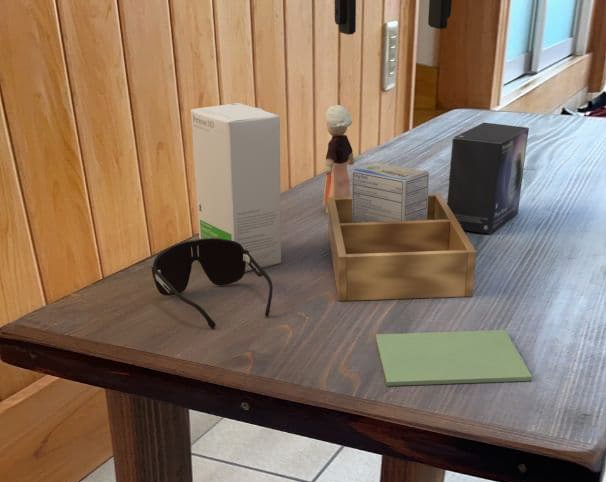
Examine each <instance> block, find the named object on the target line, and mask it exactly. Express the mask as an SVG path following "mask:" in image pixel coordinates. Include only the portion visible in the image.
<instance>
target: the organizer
mask: <svg viewBox="0 0 606 482" xmlns="http://www.w3.org/2000/svg"><path fill="white" fill-rule="evenodd" d="M327 208H328V214H327V237H328V244H329V249H330V250H329V251H330V255H331V260H332V266H333V273H334V279H335V285H336V292H337V297H338V302H346V301H349V302H350V301H380V300H406V299H407V300H410V299H435V298H436V299H437V298H438V299H439V298H462V297H463V298H464V297H466V298H469V297H470V298H471V297H473V296H474V286H475V285H474V284H475V273H476V263H477V253H478V252H477V251H476V248H475V247H474V246H473V244H472V242H471V241H470V239H469V237H468V236H467V234H466V231H465V230H463V229H462V227H461V226H460V224H459V223H458V221H457V219H456V218H455V216H454V214H453V213H452V211H451V209H450V208H449V206H448V204H447V200H445V198H444V196H443V194H442V193H428V209H427V220H417V221H389V222H360V223H352V196H350V197H335V198H334V197H333V198H328V205H327Z"/></svg>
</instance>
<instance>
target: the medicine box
mask: <svg viewBox="0 0 606 482" xmlns="http://www.w3.org/2000/svg"><path fill="white" fill-rule="evenodd" d="M429 181H430V172H428V171H426V170H423V169H417V168H411V167H407V166H401V165H395V164H394V165H393V164H388V163H381V162H373V163H369V164H366V165H361V166H359V167H357V168H355V169H352V171H351V197H352V223H360V222H389V221H417V220H427V209H428V194H429V187H430V185H429V183H430V182H429Z"/></svg>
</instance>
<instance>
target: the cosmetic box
mask: <svg viewBox="0 0 606 482" xmlns="http://www.w3.org/2000/svg"><path fill="white" fill-rule="evenodd" d="M190 119H191V121H190V122H191V133H192V149H193V162H194V163H193V164H194V177H195V179H194V180H195V192H196V208H197V223H198V237H199V238H198V239H204V238H221V239H226V240H232V241H235V242H238V243H239V244H241V246H242V247H243V249H244V250H248V251H249V254H250V255H251V256H252V258H253V259H254V260H255V261H256V262H257V264H258V265H259V266H260V267H261V268H262V269H263V268H267V267H270V266H275V265H279V264H282V225H281V224H282V218H281V216H282V209H281V208H282V207H281V198H282V197H281V116H280V115H278V114H275V113H272V112H268V111H266V110H264V109H262V108H260V107H256V106H255V107H254V106H251V105H247V104H243V103H241V102H235V103H227V104H220V105H214V106H212V105H211V106H205V107H198V108H192V109H190ZM250 271H253V270H252V268H251V267H250V266H249V265H248V264H247V262H246V267H245V273H247V272H250Z"/></svg>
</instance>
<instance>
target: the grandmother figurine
mask: <svg viewBox="0 0 606 482" xmlns="http://www.w3.org/2000/svg"><path fill="white" fill-rule="evenodd" d="M325 120H326V129H327V132H328V134H329V135H330V136H331V139H330V140H329V142H328V143H327V151H326V155H325V167H324V169H323V172H324V174H325V175H326V178H325V182H324V183H325V184H324V191H323V201H322V203H323V206H328V198H333V197H334V198H335V197H351V183H350V181H351V180H350V176H349V171H348V166H353V165H354V164H355V163H356V159H355V158H354V152H353V147H352V145H351V142H350V140H349V137H348V136H347V135H346V132H347V131H348V127H350V126H352V123H353V119H352V116H351V113H350V111H349V110H348V109H347V108H346V107H344V106H342V105H340V104H336V105H331V106H329V108H328V109H327V110H326V112H325ZM325 214H327V215H328V207H326V210H325Z"/></svg>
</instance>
